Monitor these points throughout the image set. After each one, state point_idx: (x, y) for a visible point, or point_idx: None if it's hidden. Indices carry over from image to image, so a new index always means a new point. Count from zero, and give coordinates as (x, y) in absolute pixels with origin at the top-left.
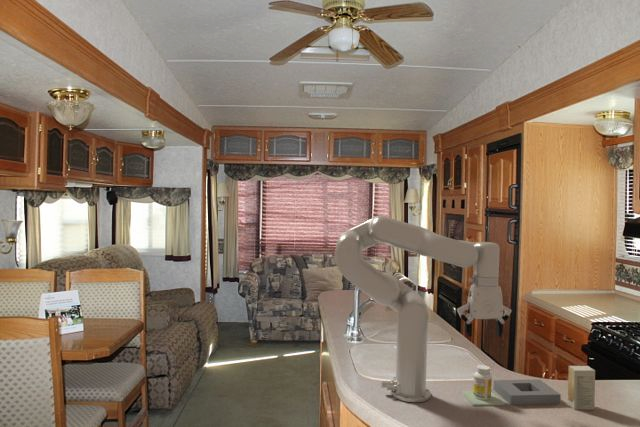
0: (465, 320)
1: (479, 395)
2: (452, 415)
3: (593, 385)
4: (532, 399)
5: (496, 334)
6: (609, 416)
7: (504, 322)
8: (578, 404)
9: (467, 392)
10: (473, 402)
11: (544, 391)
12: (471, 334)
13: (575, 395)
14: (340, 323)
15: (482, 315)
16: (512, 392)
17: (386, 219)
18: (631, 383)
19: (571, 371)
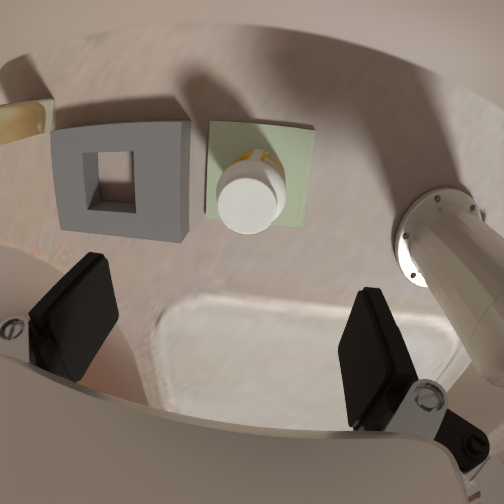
0: (443, 417)
1: (278, 159)
2: (404, 93)
3: None
4: (121, 122)
5: (113, 296)
6: (19, 75)
7: (3, 323)
8: (40, 99)
9: (287, 212)
10: (308, 141)
11: (75, 150)
12: (365, 297)
13: (30, 101)
14: None
15: (284, 491)
16: (165, 144)
17: None
18: None
19: None
